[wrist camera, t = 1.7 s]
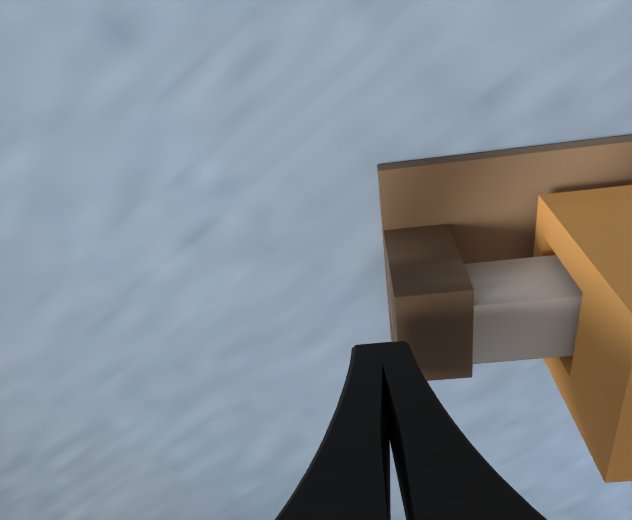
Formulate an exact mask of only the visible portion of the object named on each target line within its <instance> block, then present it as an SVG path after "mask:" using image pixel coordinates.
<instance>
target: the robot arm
mask: <svg viewBox="0 0 632 520" xmlns="http://www.w3.org/2000/svg"><path fill="white" fill-rule="evenodd" d="M390 443H391V448H392V453H393V458H394V463H395V468H396V472H397V477H398V482H399V487H400V491H401V496H402V501H403V506H404V510H405V515H406V520H547V519H546V518H545V517H543V516H542V515H541V514H540V513H539V512H538V511H537V510H535V509H534V508H533V507H532V506H531V505H530V504H529V503H528V502H527V501H526V500H525V499H524V498H523V497H522V496H520V495H519V494H518V493H517V492H516V491H515V490H514V489H513V488H512V487H511V486H510V485H509V484H508V483H507V482H506V481H505V480H504V479H503V478H502V477H501V476H500V475H499V474H498V473H497V472H496V471H495V470H494V469H493V468H492V467H491V466H490V464H489V463H488V462H487V461H486V460H485V459H484V458H483V457H482V456H481V454H480V453H479V452H478V451H477V450H476V449H475V448H474V446H473V445H472V444H471V443H470V442H469V440H468V439H467V438H466V437H465V435H464V434H463V433H462V432H461V430H460V429H459V428H458V426H457V425H456V424H455V422H454V421H453V420H452V418H451V417H450V416H449V414H448V413H447V411H446V410H445V409H444V407H443V406H442V404H441V403H440V401H439V400H438V398H437V397H436V395H435V393H434V392H433V390H432V389H431V387H430V386H429V384H428V382H427V381H426V379H425V377H424V375H423V374H422V372H421V370H420V368H419V366H418V364H417V362H416V360H415V358H414V356H413V353H412V351H411V348H410V345H409V344H408V343H407V342H405V341H396V342H385V343H373V344H362V345H355V346H354V347H353V348H352V352H351V360H350V365H349V369H348V373H347V377H346V381H345V384H344V387H343V390H342V393H341V396H340V399H339V402H338V405H337V408H336V410H335V413H334V415H333V417H332V420H331V422H330V424H329V427H328V429H327V431H326V434H325V436H324V438H323V440H322V442H321V444H320V447H319V449H318V451H317V453H316V454H315V456H314V458H313V460H312V462H311V464H310V466H309V468H308V469H307V471H306V473H305V474H304V476H303V478H302V479H301V481H300V483H299V484H298V486H297V488H296V489H295V491H294V493H293V494H292V496H291V497H290V499H289V500H288V502H287V503H286V505H285V506H284V508H283V509H282V510H281V512H280V513H279V514H278V516H277V517H276V519H275V520H391V516H390Z"/></svg>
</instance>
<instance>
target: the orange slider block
mask: <svg viewBox="0 0 632 520" xmlns="http://www.w3.org/2000/svg"><path fill="white" fill-rule="evenodd" d="M551 255H557V257H558V258H559V259H560V261H561V262H562V264H563V265H564V267H565V268H566V270H567V271H568V272H569V274H570V275H571V277H572V278H573V280H574V281H575V283H576V284H577V285H578V287H579V288H580V290H581V291H582V293H583V294H582V301H581V308H580V314H579V321H578V328H577V334H576V341H575V347H574V354H573V356H564V357H552V358H544V360H545V362H546V364H547V366H548V368H549V370H550V372H551V374H552V377H553V379H554V381H555V383H556V385H557V387H558V389H559V391H560V393H561V395H562V397H563V399H564V401H565V403H566V405H567V407H568V409H569V411H570V413H571V415H572V417H573V419H574V421H575V423H576V425H577V427H578V429H579V431H580V433H581V435H582V437H583V439H584V441H585V443H586V445H587V447H588V449H589V451H590V453H591V455H592V457H593V460H594V462H595V464H596V466H597V468H598V470H599V472H600V474H601V476H602V478H603V480H604V482H622V481H632V185H626V186H616V187H607V188H598V189H589V190H580V191H570V192H561V193H552V194H543V195H539V197H538V208H537V219H536V231H535V242H534V253H533V257H541V256H551Z"/></svg>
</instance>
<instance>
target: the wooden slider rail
mask: <svg viewBox="0 0 632 520" xmlns="http://www.w3.org/2000/svg"><path fill="white" fill-rule="evenodd" d="M377 168H378V180H379V192H380V205H381V217H382V230H383V242H384V254H385V267H386V279H387V292H388V304H389V316H390V329H391V341H392V342H396V341H405V342H407V343H408V344H409V345H410V348H411V351H412V353H413V356H414V358H415V360H416V362H417V364H418V366H419V368H420V370H421V372H422V374H423V375H424V377H425V379H426V381H430V380H443V379H456V378H468V377H472V364H478V363H490V362H503V361H515V360H527V359H540V358H552V357H564V356H573V354H574V347H575V341H576V334H577V328H578V321H579V314H580V308H581V301H582V294H583V293H582V291H581V290H580V288H579V287H578V285H577V284H576V283H575V281H574V280H573V278H572V277H571V275H570V274H569V272H568V271H567V270H566V268H565V267H564V265H563V264H562V262H561V261H560V259H559V258H558V257H557V255H551V256H541V257H533V253H534V242H535V231H536V219H537V208H538V197H539V195H543V194H552V193H561V192H570V191H580V190H589V189H598V188H607V187H616V186H626V185H632V135H626V136H617V137H609V138H600V139H592V140H583V141H575V142H566V143H558V144H549V145H541V146H532V147H524V148H515V149H507V150H498V151H490V152H481V153H473V154H464V155H456V156H447V157H438V158H430V159H421V160H413V161H404V162H396V163H387V164H379V165H377Z"/></svg>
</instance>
